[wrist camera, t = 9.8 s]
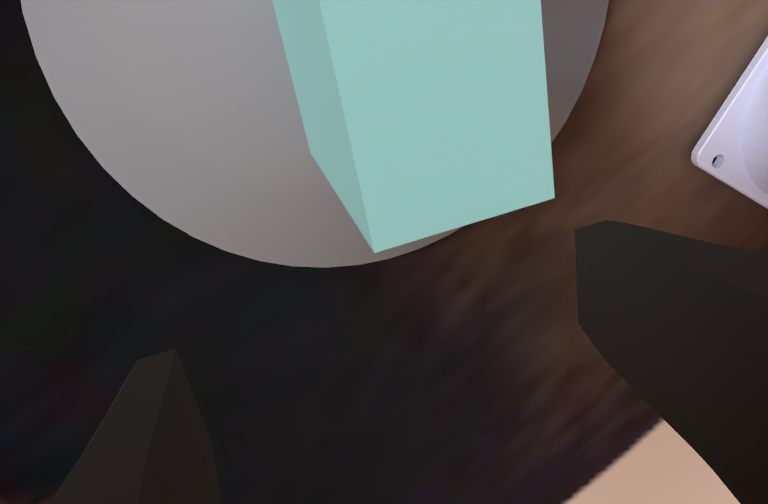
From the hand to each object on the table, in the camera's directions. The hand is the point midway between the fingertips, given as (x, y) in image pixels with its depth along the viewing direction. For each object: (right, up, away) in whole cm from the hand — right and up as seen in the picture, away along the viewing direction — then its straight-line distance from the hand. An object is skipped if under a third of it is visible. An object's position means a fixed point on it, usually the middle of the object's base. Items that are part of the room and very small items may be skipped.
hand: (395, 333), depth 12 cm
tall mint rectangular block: (-1, +8, +6) cm, 11 cm away
